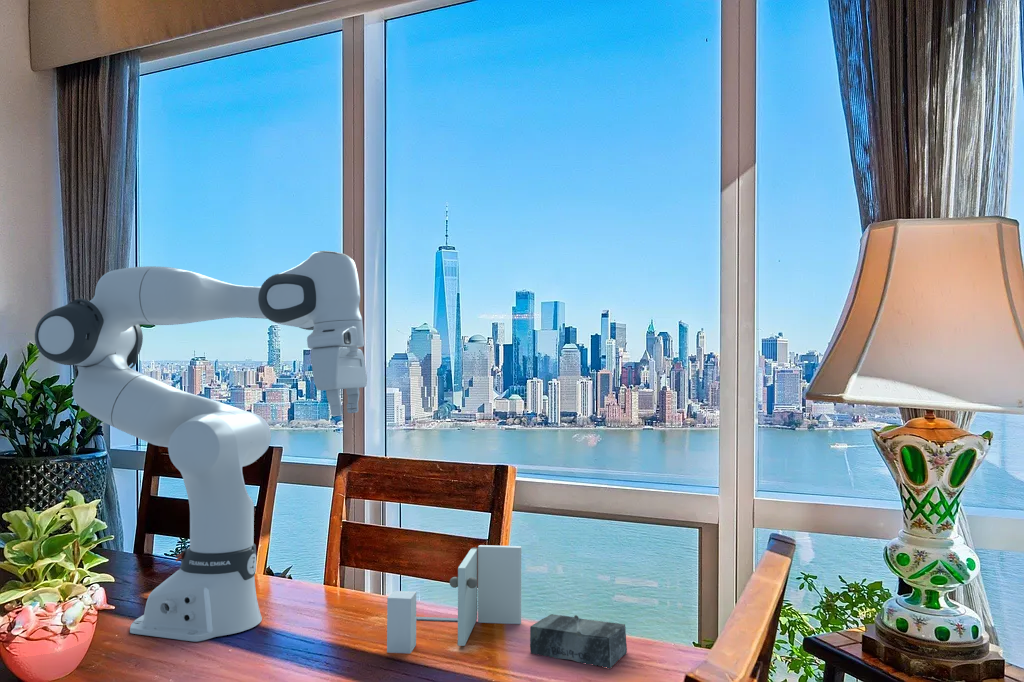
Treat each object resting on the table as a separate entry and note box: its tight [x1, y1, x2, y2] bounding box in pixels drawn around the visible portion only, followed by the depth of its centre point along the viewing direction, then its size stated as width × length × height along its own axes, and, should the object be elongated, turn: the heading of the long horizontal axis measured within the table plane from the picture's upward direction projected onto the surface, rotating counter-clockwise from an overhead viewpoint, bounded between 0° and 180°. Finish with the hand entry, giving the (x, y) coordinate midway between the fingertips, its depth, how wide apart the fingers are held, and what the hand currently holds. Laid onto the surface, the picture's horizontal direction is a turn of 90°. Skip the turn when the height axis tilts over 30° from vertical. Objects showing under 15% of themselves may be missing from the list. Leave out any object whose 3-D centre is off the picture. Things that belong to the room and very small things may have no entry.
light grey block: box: [386, 590, 417, 654], centre depth 130 cm, size 4×4×9 cm
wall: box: [416, 544, 522, 625], centre depth 145 cm, size 23×1×14 cm, turn 84°
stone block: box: [529, 613, 628, 669], centre depth 129 cm, size 9×14×5 cm, turn 61°
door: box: [449, 547, 478, 647], centre depth 138 cm, size 15×5×13 cm, turn 174°
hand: (345, 414), depth 141 cm, fingers open, 8 cm apart
